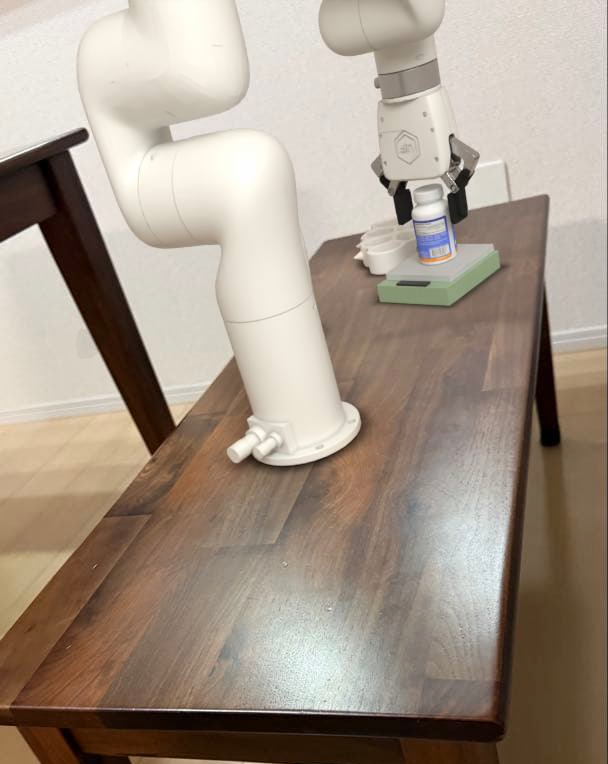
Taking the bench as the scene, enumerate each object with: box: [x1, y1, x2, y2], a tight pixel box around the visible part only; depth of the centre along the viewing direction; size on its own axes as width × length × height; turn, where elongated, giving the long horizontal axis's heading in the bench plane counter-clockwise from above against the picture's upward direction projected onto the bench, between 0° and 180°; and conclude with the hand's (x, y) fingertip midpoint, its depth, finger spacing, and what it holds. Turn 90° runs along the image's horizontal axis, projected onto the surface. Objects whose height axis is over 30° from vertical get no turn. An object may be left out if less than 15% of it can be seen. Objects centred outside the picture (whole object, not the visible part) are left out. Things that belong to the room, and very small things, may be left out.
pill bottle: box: [412, 182, 458, 265], centre depth 116 cm, size 5×5×10 cm
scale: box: [376, 243, 501, 307], centre depth 119 cm, size 13×12×4 cm
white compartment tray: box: [352, 216, 418, 276], centre depth 135 cm, size 3×18×15 cm
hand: (432, 220), depth 116 cm, fingers open, 8 cm apart
